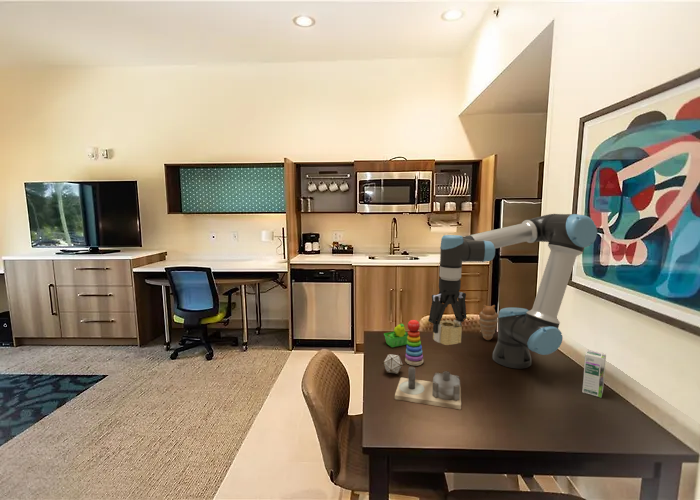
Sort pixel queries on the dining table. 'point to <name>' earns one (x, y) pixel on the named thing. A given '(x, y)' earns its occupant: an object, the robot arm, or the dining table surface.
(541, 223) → the robot arm
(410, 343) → the stacking toy
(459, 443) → the dining table surface
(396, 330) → the fruit basket
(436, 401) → the gear board
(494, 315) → the cat ice cream
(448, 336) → the brass gear
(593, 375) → the syrup box
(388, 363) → the game die
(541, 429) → the dining table surface
